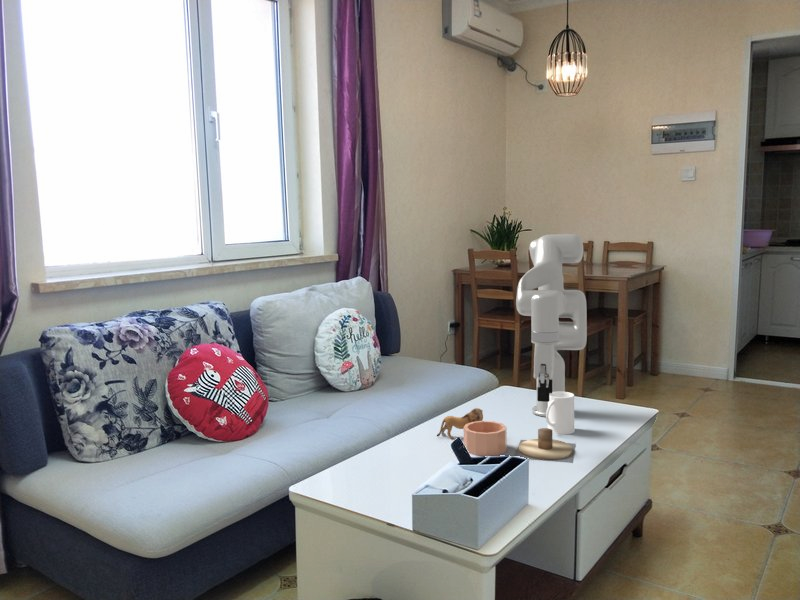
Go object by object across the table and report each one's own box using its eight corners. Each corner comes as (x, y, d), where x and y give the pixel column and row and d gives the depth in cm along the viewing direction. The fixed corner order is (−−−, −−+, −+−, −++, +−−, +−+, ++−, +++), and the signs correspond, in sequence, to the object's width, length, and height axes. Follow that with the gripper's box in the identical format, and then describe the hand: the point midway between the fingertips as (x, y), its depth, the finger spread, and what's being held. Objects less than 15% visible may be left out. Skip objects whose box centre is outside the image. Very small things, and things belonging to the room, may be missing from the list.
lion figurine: (482, 433, 212) (481, 405, 211) (484, 438, 207) (484, 410, 206) (435, 435, 211) (434, 407, 210) (437, 440, 206) (436, 412, 205)
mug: (555, 440, 203) (555, 401, 202) (534, 433, 210) (534, 396, 209) (580, 432, 211) (580, 394, 209) (559, 425, 217) (559, 389, 216)
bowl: (469, 442, 204) (468, 419, 203) (508, 445, 200) (508, 422, 199) (460, 455, 192) (460, 432, 191) (502, 459, 189) (502, 434, 188)
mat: (520, 441, 203) (520, 439, 203) (575, 445, 198) (575, 443, 198) (513, 460, 188) (513, 457, 188) (572, 464, 183) (572, 462, 183)
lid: (522, 440, 202) (522, 421, 202) (573, 443, 198) (573, 424, 197) (515, 457, 188) (515, 436, 187) (570, 461, 184) (570, 440, 183)
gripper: (534, 332, 198) (535, 389, 200) (527, 342, 182) (528, 403, 184) (560, 332, 196) (560, 390, 198) (556, 342, 180) (556, 405, 181)
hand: (545, 396), depth 191 cm, fingers open, 9 cm apart
